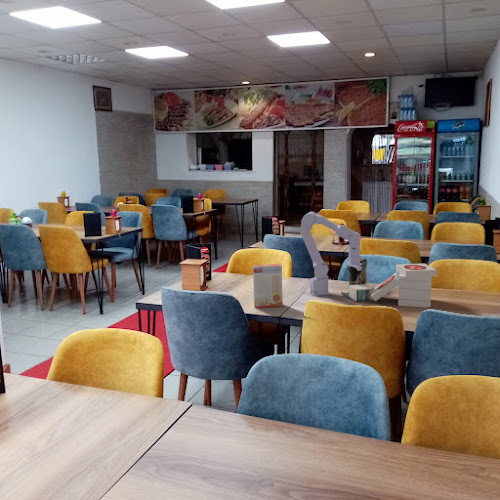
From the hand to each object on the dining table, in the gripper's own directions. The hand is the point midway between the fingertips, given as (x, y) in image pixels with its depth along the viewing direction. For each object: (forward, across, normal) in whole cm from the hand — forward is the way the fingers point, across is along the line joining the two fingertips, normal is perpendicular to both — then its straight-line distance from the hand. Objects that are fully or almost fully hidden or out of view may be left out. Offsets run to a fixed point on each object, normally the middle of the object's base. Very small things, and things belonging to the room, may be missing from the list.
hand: (353, 281), depth 272 cm
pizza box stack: (+8, -18, -18) cm, 27 cm away
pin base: (+8, -4, 0) cm, 9 cm away
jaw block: (+7, -8, 0) cm, 11 cm away
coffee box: (+8, +13, -8) cm, 17 cm away
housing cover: (+7, -8, 0) cm, 11 cm away
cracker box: (+8, -6, +48) cm, 49 cm away
